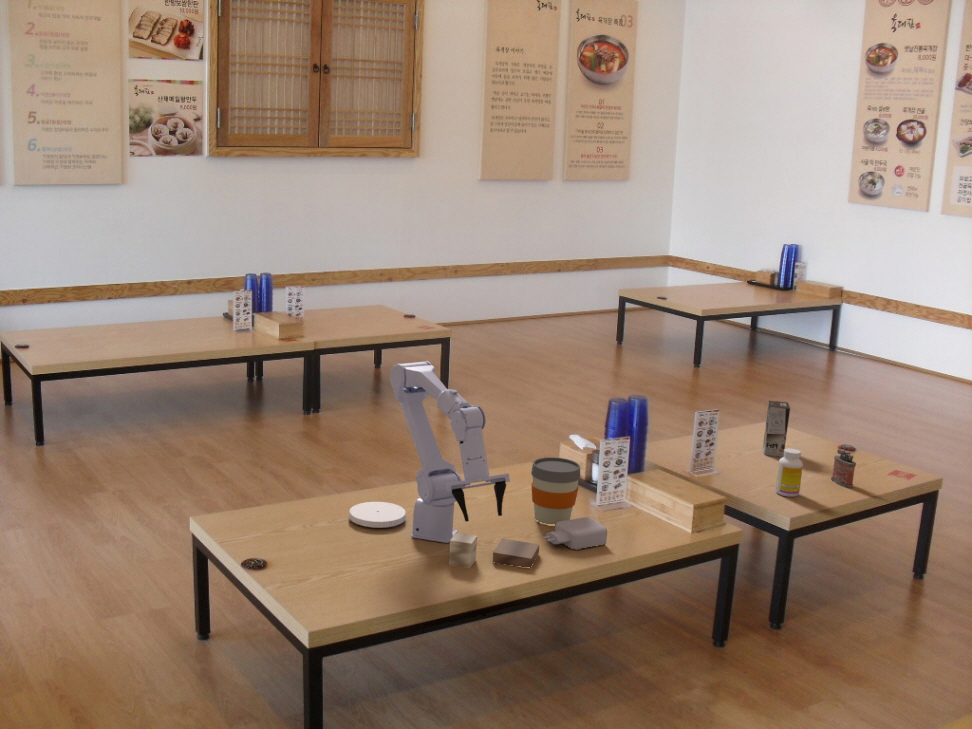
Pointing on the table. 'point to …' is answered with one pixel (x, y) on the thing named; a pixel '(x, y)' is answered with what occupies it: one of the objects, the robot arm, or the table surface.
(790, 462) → the supplement bottle
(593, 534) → the charger
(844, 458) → the lighter
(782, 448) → the coffee box
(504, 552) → the walnut slab
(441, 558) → the table surface
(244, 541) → the table surface
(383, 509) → the plastic lid
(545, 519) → the reusable coffee cup
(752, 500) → the table surface
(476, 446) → the robot arm
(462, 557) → the maple block
